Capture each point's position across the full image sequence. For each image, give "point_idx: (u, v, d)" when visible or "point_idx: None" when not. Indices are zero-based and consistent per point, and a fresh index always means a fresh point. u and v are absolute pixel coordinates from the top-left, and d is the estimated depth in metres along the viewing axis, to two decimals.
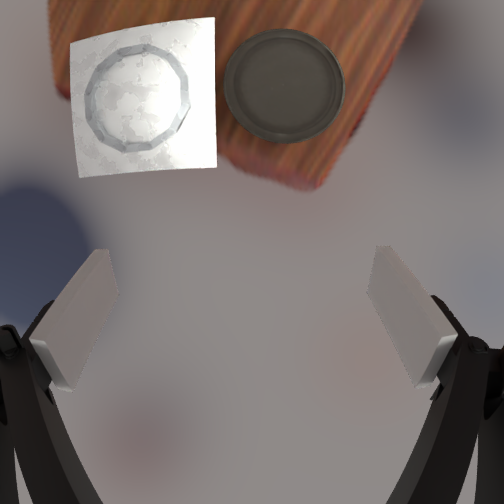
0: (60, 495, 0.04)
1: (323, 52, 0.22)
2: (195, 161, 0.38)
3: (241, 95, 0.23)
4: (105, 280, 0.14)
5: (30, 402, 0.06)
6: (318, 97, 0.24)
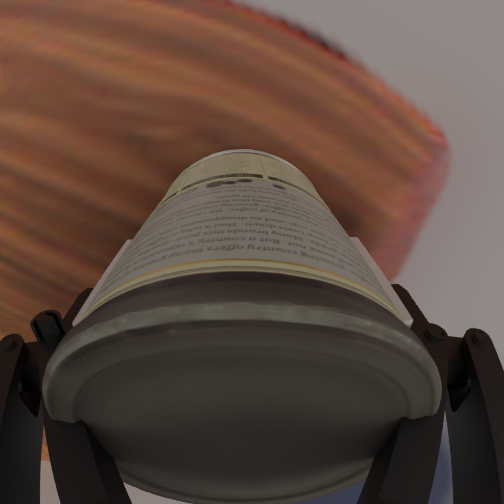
0: (88, 488, 0.04)
1: (77, 379, 0.05)
2: None
3: (273, 494, 0.08)
4: None
5: None
6: (289, 399, 0.05)
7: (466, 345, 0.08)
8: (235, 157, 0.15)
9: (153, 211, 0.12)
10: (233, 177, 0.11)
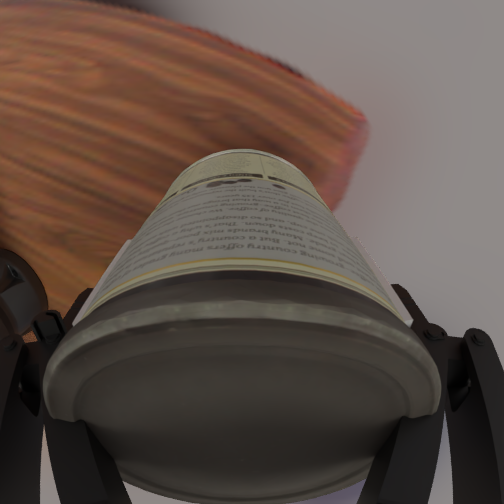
0: (88, 488, 0.04)
1: (78, 378, 0.05)
2: None
3: (273, 493, 0.08)
4: None
5: None
6: (289, 398, 0.05)
7: (466, 345, 0.08)
8: (235, 157, 0.15)
9: (153, 211, 0.12)
10: (233, 177, 0.11)
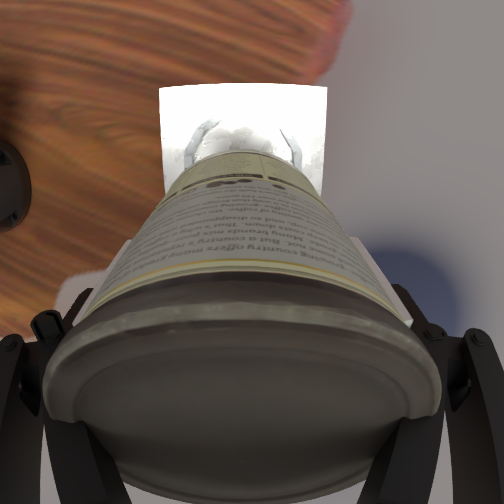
0: (88, 488, 0.04)
1: (77, 379, 0.05)
2: (319, 107, 0.34)
3: (273, 494, 0.08)
4: None
5: None
6: (289, 399, 0.05)
7: (466, 345, 0.08)
8: (235, 157, 0.15)
9: (153, 211, 0.12)
10: (233, 177, 0.11)
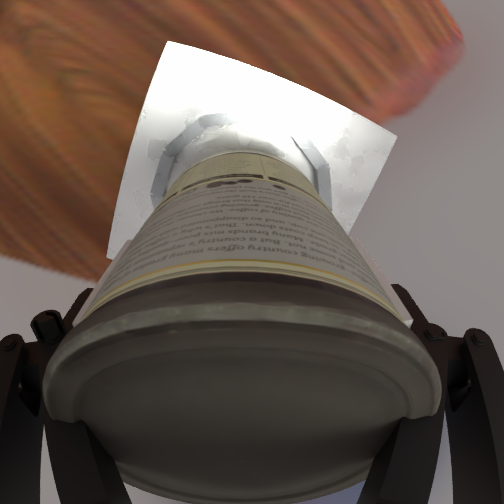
0: (88, 488, 0.04)
1: (77, 379, 0.05)
2: (376, 159, 0.24)
3: (272, 494, 0.08)
4: None
5: None
6: (289, 400, 0.05)
7: (466, 345, 0.08)
8: (235, 157, 0.15)
9: (153, 211, 0.12)
10: (233, 177, 0.11)
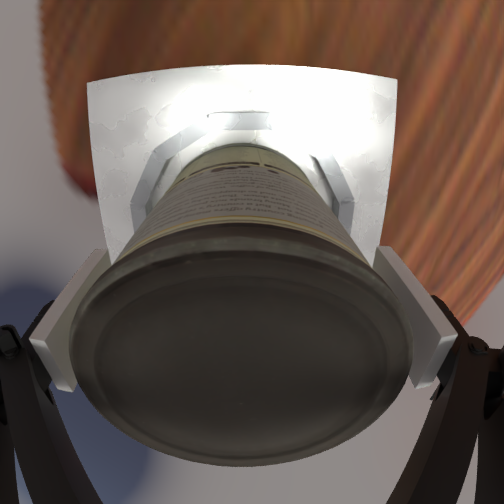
0: (60, 495, 0.04)
1: (104, 316, 0.07)
2: None
3: (270, 450, 0.10)
4: None
5: (30, 402, 0.06)
6: (279, 330, 0.07)
7: None
8: (235, 149, 0.16)
9: None
10: (234, 164, 0.13)
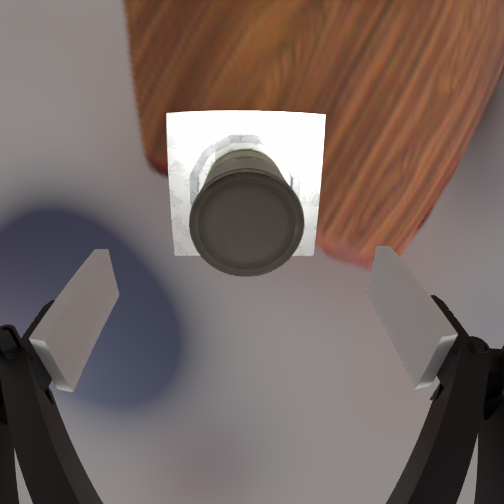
0: (60, 495, 0.04)
1: (209, 192, 0.26)
2: None
3: (257, 262, 0.29)
4: (105, 280, 0.14)
5: (30, 402, 0.06)
6: (258, 196, 0.27)
7: None
8: (243, 151, 0.36)
9: (213, 169, 0.33)
10: (243, 157, 0.32)
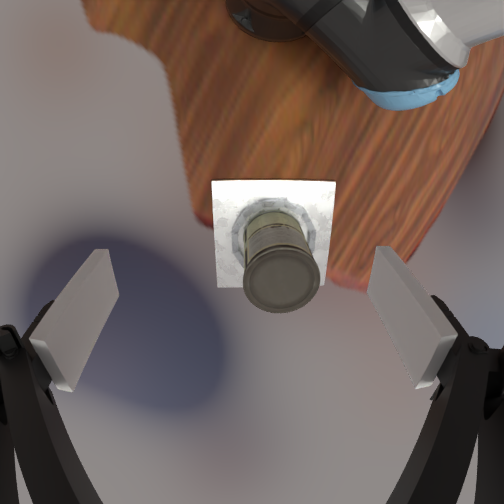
0: (60, 495, 0.04)
1: (258, 262, 0.39)
2: None
3: (287, 304, 0.43)
4: (105, 280, 0.14)
5: (30, 402, 0.06)
6: (290, 264, 0.40)
7: None
8: (273, 214, 0.49)
9: (253, 232, 0.47)
10: (276, 225, 0.45)
